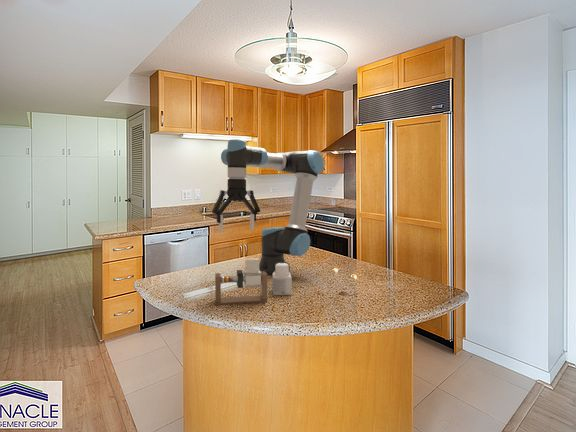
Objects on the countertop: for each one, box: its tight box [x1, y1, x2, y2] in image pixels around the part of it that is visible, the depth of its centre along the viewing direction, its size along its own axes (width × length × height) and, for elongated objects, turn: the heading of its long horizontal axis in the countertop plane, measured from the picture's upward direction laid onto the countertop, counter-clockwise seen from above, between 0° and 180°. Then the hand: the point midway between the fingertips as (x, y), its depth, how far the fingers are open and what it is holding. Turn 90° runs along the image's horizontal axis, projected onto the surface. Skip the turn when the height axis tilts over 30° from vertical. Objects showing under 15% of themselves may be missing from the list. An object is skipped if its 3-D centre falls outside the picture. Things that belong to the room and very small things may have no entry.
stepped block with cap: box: [243, 257, 261, 289], centre depth 137 cm, size 6×6×11 cm
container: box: [271, 261, 293, 296], centre depth 148 cm, size 8×8×13 cm
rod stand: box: [214, 271, 268, 306], centre depth 136 cm, size 20×6×11 cm, turn 102°
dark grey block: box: [236, 269, 244, 289], centre depth 136 cm, size 2×6×6 cm, turn 12°
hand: (236, 230), depth 142 cm, fingers open, 13 cm apart
